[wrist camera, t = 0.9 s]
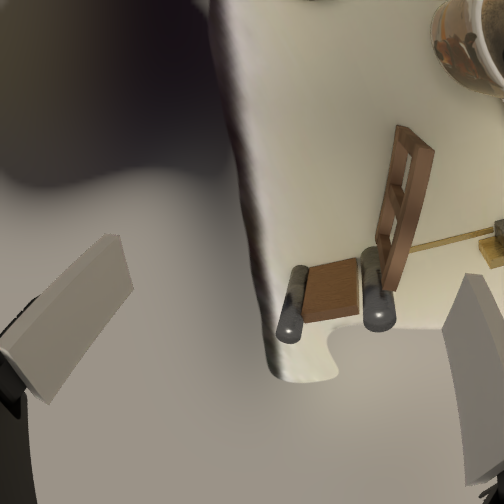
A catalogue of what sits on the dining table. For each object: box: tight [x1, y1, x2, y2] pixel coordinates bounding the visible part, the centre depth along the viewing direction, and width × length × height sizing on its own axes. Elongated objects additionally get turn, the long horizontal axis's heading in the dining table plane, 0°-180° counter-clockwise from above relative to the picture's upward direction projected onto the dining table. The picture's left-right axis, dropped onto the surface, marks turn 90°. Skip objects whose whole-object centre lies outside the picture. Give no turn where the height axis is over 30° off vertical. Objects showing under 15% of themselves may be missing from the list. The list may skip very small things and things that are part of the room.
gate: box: [375, 125, 435, 292], centre depth 25 cm, size 12×1×9 cm, turn 179°
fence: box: [276, 227, 494, 344], centre depth 29 cm, size 25×3×10 cm, turn 114°
